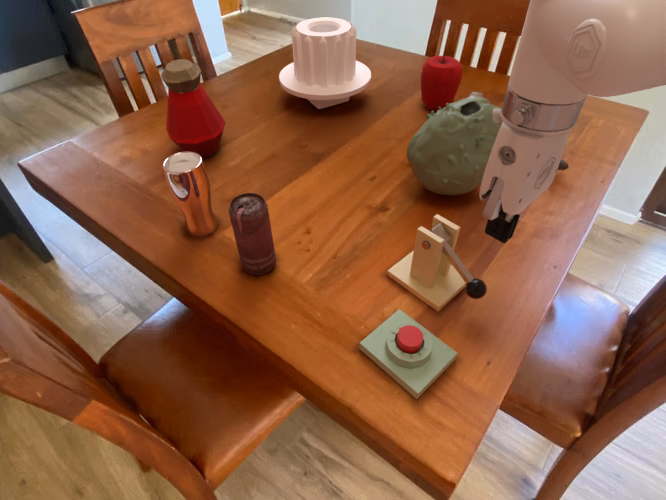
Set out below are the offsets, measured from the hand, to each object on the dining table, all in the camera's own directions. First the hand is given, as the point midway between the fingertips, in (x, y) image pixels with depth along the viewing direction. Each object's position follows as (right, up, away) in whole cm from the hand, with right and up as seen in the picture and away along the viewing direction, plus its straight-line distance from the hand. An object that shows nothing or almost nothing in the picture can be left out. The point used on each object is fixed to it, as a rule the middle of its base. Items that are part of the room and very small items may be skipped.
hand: (497, 235), depth 58 cm
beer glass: (-48, +2, +27) cm, 55 cm away
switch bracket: (-6, -7, +16) cm, 19 cm away
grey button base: (-11, -17, +6) cm, 22 cm away
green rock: (+2, +11, +34) cm, 36 cm away
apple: (+6, +37, +60) cm, 71 cm away
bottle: (-54, +23, +47) cm, 75 cm away
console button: (-11, -15, +4) cm, 19 cm away
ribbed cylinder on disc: (-24, +41, +64) cm, 80 cm away
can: (-35, -5, +20) cm, 41 cm away
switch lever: (-3, -4, +10) cm, 12 cm away
